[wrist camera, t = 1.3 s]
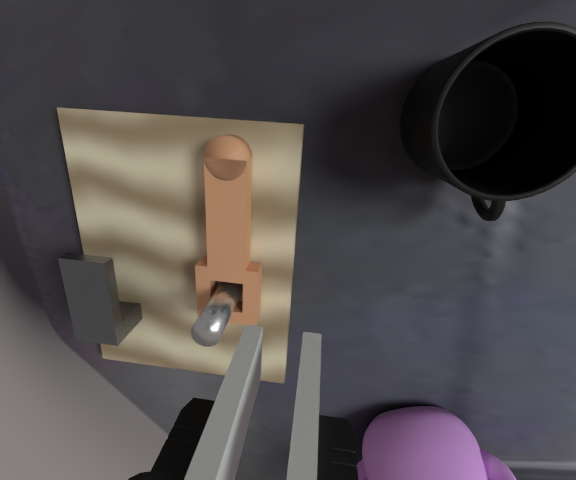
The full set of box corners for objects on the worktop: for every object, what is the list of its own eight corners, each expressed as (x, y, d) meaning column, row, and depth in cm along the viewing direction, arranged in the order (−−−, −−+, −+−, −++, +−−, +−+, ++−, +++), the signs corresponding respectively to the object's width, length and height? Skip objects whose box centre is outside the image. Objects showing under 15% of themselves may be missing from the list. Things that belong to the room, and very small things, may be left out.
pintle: (221, 274, 33) (189, 320, 25) (244, 276, 33) (219, 323, 25) (221, 294, 34) (191, 344, 26) (244, 297, 33) (220, 348, 26)
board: (66, 108, 30) (56, 107, 29) (304, 124, 28) (303, 124, 27) (109, 351, 40) (103, 358, 39) (285, 375, 38) (283, 383, 37)
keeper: (92, 239, 33) (57, 258, 29) (133, 244, 33) (104, 263, 28) (105, 314, 36) (75, 340, 32) (142, 318, 36) (117, 345, 32)
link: (260, 315, 34) (256, 326, 32) (204, 308, 34) (197, 319, 32) (266, 137, 27) (262, 138, 25) (197, 132, 28) (188, 133, 26)
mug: (407, 212, 30) (438, 251, 21) (394, 70, 26) (425, 47, 17) (520, 194, 28) (602, 227, 20) (524, 38, 24) (630, -4, 16)
